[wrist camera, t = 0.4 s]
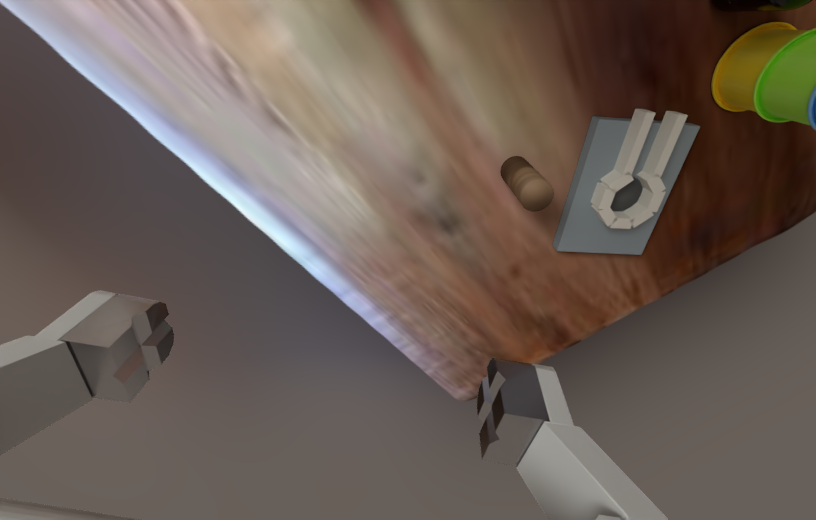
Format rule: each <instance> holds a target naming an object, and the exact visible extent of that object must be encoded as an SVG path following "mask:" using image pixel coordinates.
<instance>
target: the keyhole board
mask: <svg viewBox="0 0 816 520" xmlns="http://www.w3.org/2000/svg"><path fill="white" fill-rule="evenodd" d="M655 114H656V113H655V112H652V111H649V110H645V109H635V111H634V114H633V117H632V119H626V118H611V117H597V116H592V119H591V122H590V126H589V129H588V132H587V135H586V139H585V142H584V145H583V148H582V151H581V155H580V158H579V161H578V164H577V167H576V171H575V174H574V177H573V180H572V184H571V187H570V190H569V193H568V196H567V200H566V203H565V206H564V209H563V213H562V216H561V219H560V222H559V225H558V229H557V232H556V235H555V238H554V241H553V246H554V248H555V249H556V250H557V251H566V252H589V253H611V254H634V255H641V254H642V252H643V250H644V248H645V246H646V244H647V241H648V239H649V237H650V235H651V233H652V230H653V228H654V226H655V224H656V222H657V220H658V217H659V215H660V213H661V211H662V209H663V207H664V204H665V202H666V200H667V198H668V196H669V193H670V191H671V189H672V187H673V185H674V183H675V180H676V178H677V176H678V174H679V172H680V170H681V167H682V165H683V163H684V161H685V159H686V157H687V154H688V152H689V150H690V148H691V146H692V143H693V141H694V139H695V137H696V135H697V133H698V130H699V128H700V126H698V125H695V124H692V123H685V121H686V118H687V116H688V115H686V114H682V113H679V112H676V111H666V113H665V115H664V118H663V120H662V121H654V120H653V119H654V116H655Z"/></svg>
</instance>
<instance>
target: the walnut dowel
mask: <svg viewBox="0 0 816 520" xmlns="http://www.w3.org/2000/svg"><path fill="white" fill-rule="evenodd" d="M501 176H502V178H503V180H504V181H505V182H506V184H507V185H508V186H509V188H510V189H511V191H512V192H513V193H514V195H515V196H516V197H517V199H518V200H519V201H520V203H521V204H522V205H523V207H524V208H525V209H527V210H529V211H539V210H542V209H544V208H545V207H547V206H548V205H549V204H550V202H551V201H552V199H553V195H554V191H553V188H552V186H551V185H550V184H549V183H548V182H547V181H546V180H545V179H544V178H543V177H542V176H541V175H540V174H539V173H538V172H537V171H536V170H535V169H534V168H533V167H532V166H531V165H530V164H529V163H528V162H527V161H526V160H525V159H524V158H522V157H519V156H514V157H511V158H509V159H507V160H506V161H505V162H504V163H503V165H502V167H501Z"/></svg>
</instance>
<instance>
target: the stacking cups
mask: <svg viewBox="0 0 816 520" xmlns="http://www.w3.org/2000/svg"><path fill="white" fill-rule="evenodd" d="M711 91H712V96H713V98H714V100H715V102H716V103H717V104H718V105H719V106H720V107H721V108H723V109H725V110H728V111H733V112H740V111H746V110H751V111H755V112H757V114H758V115H759V116H760V117H762V118H763V119H765V120H767V121H770V122H788V121H796V122H799V123H803V124H807V125H811V126H812V128H813V129H815V130H816V28H814V29H811V30H797V29H796V28H795V27H794V26H792V25H790V24H788V23H784V22H769V23H765V24H762V25H759V26H757V27H755V28H753V29H751V30H749V31H748V32H746V33H744V34H743V35H742V36H740V37H739V38H738V39H737V40H736V41H734V42H733V43H732V44H731V45H730V47H729V48H728V49H727V50H726V51H725V53H724V54H723V55H722V57H721V58H720V60H719V62H718V64H717V66H716V68H715V70H714V73H713V77H712V82H711Z"/></svg>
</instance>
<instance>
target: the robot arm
mask: <svg viewBox="0 0 816 520" xmlns="http://www.w3.org/2000/svg"><path fill="white" fill-rule="evenodd" d="M168 315H169V313H168V310H167V306H166V304H165V303H162V302H159V301H154V300H148V299H144V298H138V297H133V296H128V295H123V294H115V293H111V292H106V291H100V290H99V291H96V292H92V293H90V294H89V295H88V296H86V297H85V298H84V299H82V300H81V301H80V302H79V303H77V304H76V305H75V306H73V307H72V308H71V309H69V310H68V311H67V312H66V313H64V314H63V315H62V316H60V317H59V318H58V319H57V320H55V321H54V322H53V323H51V324H50V325H49V326H48V327H46V328H45V329H44V330H42V331H41V332H40V333H38V334H37V335H36V336H24V337H21V338H19V339H16V340H13V341H10V342H7V343H5V344H2V345H0V455H1V454H3V453H5V452H6V451H8V450H10V449H11V448H13V447H15V446H16V445H18V444H20V443H21V442H23V441H25V440H26V439H28V438H30V437H31V436H33V435H35V434H36V433H38V432H40V431H41V430H43V429H45V428H46V427H48V426H50V425H51V424H53V423H55V422H56V421H58V420H60V419H61V418H63V417H65V416H66V415H68V414H70V413H71V412H73V411H75V410H76V409H78V408H80V407H81V406H83V405H84V404H86V403H88V402H90V401H91V400H92V398H99V399H108V400H114V401H122V402H129V403H130V402H131V401H132V400H133V399H134V397H135V396H136V395H137V394H138V393H139V391H140V390H141V389H142V388H143V387H144V385H145V384H146V383H147V382H148V380H149V371H150V370H152V369H154V368H156V367H158V366H160V365H161V364H162V363H163V361H165V359H166V358H167V357H168V356H169V353H170V351H171V348H172V346H173V342H174V333H173V329H172V327H171V326H170V325H169V324H168V323H167V322H166V321H165V318H166V317H167V316H168ZM487 373H488V376H487V377H486V378H484V379H482V381H481V384H480V387H479V391H478V397H477V414H478V418H479V419H480V421H481V422H482V423H483V426H482V429H481V431H480V433H479V435H480V446H481V455H482V460H485V461H490V462H495V463H501V464H506V465H511V466H516V467H517V470H518V472H519V473H520V475H521V477H522V478H523V480H524V481H525V483H526V485H527V486H528V488H529V489H530V491H531V493H532V494H533V496H534V497H535V499H536V501H537V502H538V504H539V506H540V507H541V509H542V510H543V512H544V514H545V515H546V517H547V519H548V520H668V518H667V517H666V516H665V515H664V514H663V513H662V512H661V511H660V510H659V509H658V508H657V507H656V506H655V505H654V504H653V503H652V502H651V501H650V500H649V499H648V498H647V496H646V495H645V494H644V493H643V492H642V491H641V490H640V489H639V488H638V487H637V486H636V485H635V484H634V483H633V482H632V481H631V480H630V479H629V478H628V477H627V476H626V474H625V473H624V472H623V471H622V470H621V469H620V468H619V467H618V466H617V465H616V464H615V463H614V462H613V461H612V460H611V459H610V458H609V457H608V456H607V455H606V454H605V453H604V452H603V451H602V449H601V448H600V447H599V446H598V445H597V444H596V443H595V442H594V441H593V440H592V439H591V438H590V437H589V436H588V435H587V434H586V433H585V432H584V430H582V428H581V427H576V426H574V424H573V421H572V418H571V415H570V412H569V409H568V406H567V403H566V400H565V397H564V394H563V392H562V389H561V386H560V383H559V380H558V377H557V374H556V371H555V370H554V368H553V367H549V366H542V365H536V364H530V363H524V362H517V361H511V360H505V359H498V358H492V359H491V360H490V362H489V364H488V366H487ZM0 520H140V519H134V518H128V517H121V516H115V515H108V514H102V513H95V512H89V511H83V510H76V509H70V508H63V507H57V506H50V505H44V504H37V503H31V502H25V501H18V500H12V499H6V498H0Z"/></svg>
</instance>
